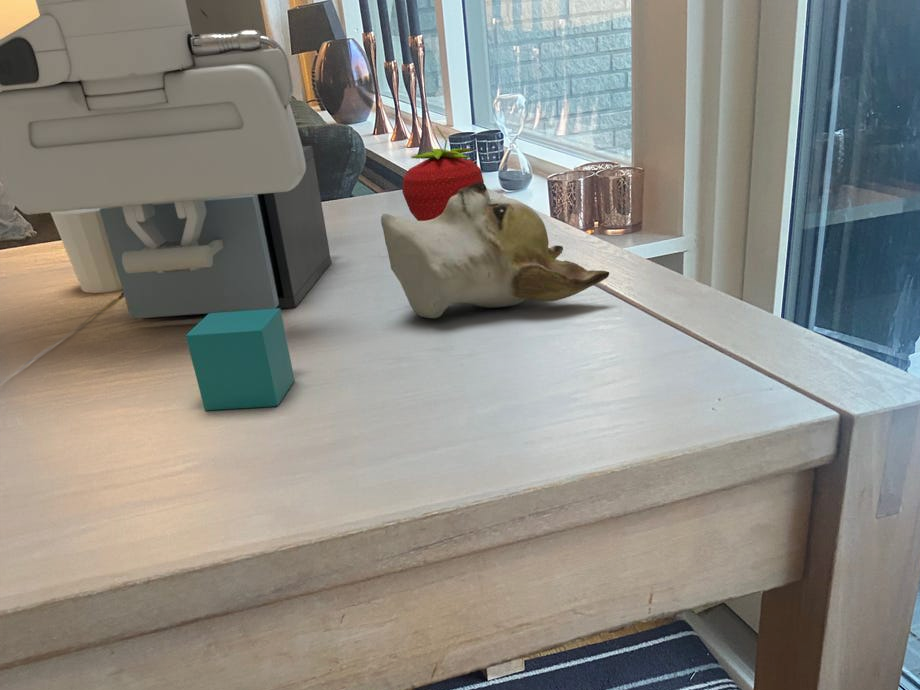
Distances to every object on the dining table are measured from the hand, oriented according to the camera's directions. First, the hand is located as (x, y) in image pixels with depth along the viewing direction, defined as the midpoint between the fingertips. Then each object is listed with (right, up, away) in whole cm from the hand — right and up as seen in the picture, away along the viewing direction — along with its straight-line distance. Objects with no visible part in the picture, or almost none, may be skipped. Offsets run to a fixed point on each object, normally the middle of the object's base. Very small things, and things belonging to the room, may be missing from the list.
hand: (180, 270), depth 68 cm
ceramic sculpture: (+22, -2, +2) cm, 23 cm away
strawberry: (+19, +9, +19) cm, 28 cm away
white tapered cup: (-11, +5, +18) cm, 22 cm away
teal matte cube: (+7, -11, -10) cm, 17 cm away
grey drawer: (+1, +1, +8) cm, 8 cm away
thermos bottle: (0, +12, +26) cm, 29 cm away
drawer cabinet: (+1, +4, +13) cm, 14 cm away
